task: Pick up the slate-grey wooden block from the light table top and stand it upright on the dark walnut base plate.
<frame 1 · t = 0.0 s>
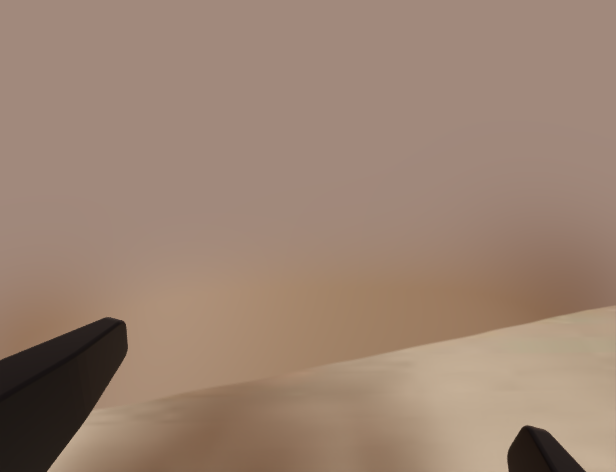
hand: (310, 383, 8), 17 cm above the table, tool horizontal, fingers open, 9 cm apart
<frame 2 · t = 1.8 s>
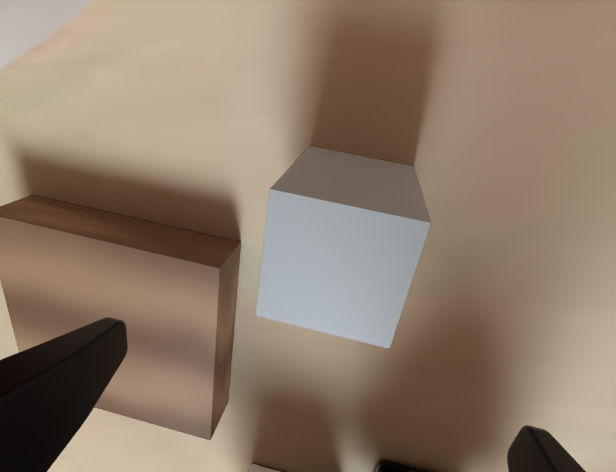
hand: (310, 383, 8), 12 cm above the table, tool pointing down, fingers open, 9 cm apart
walnut base: (139, 308, 24), on the table
grey block: (350, 204, 19), on the table
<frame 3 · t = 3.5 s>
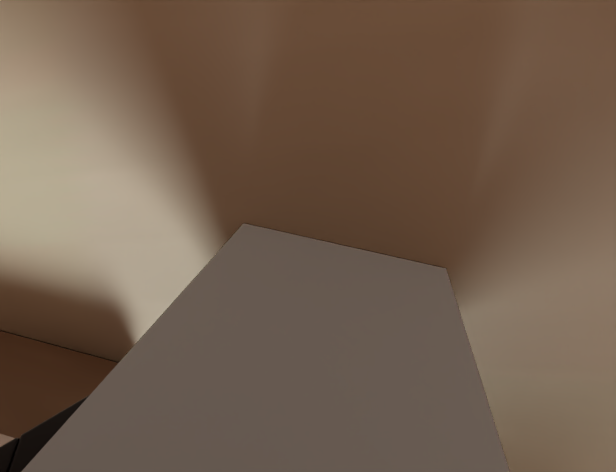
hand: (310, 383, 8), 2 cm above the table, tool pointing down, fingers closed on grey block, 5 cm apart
walnut base: (5, 442, 16), on the table
grey block: (324, 325, 10), on the table, touching gripper
when the fingers open (6 cm above the table, at t = 9.7 s): grey block drops 1 cm, resting on walnut base.
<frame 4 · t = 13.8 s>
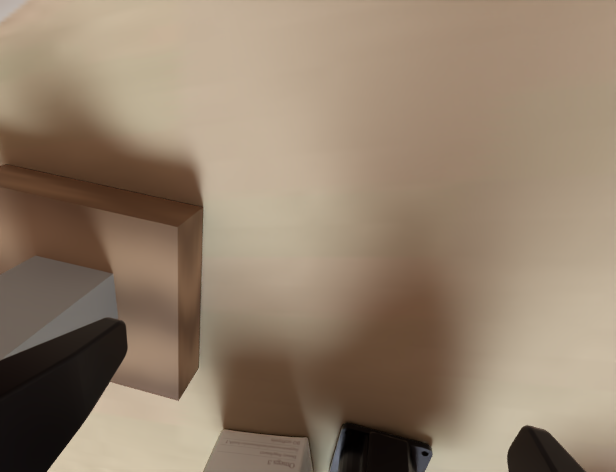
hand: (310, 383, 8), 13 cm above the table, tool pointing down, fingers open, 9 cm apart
walnut base: (111, 275, 25), on the table
supplement box: (271, 458, 31), on the table
grey block: (79, 299, 23), point 3 cm above the table, touching walnut base
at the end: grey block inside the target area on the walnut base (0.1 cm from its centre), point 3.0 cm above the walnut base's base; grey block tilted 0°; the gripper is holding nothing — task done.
